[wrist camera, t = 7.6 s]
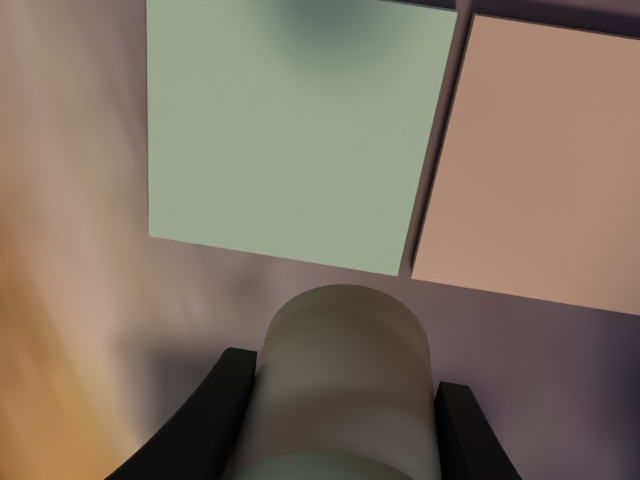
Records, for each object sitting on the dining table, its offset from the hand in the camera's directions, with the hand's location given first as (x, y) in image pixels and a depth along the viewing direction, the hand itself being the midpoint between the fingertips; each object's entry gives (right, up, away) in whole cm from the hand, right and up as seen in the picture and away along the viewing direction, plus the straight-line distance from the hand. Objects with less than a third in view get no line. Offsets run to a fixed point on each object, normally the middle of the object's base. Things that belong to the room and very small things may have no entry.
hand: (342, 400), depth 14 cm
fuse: (0, +1, +1) cm, 2 cm away
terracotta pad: (+8, +6, +6) cm, 12 cm away
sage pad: (-2, +7, +7) cm, 10 cm away
